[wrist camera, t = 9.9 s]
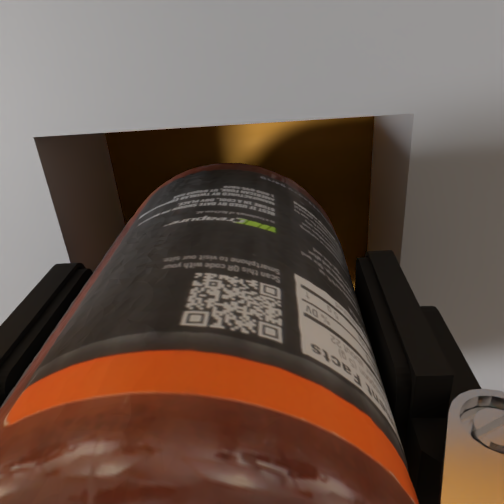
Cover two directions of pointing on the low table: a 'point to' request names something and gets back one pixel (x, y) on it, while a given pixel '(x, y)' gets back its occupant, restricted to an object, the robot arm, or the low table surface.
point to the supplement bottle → (209, 363)
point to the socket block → (265, 111)
